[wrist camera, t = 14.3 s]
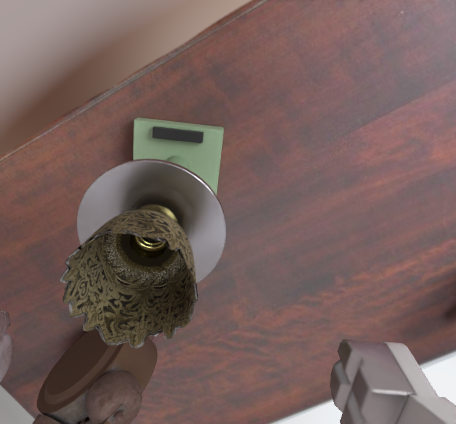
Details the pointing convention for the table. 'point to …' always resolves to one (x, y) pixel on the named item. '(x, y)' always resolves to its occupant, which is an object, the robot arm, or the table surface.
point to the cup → (133, 279)
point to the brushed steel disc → (158, 205)
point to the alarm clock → (96, 383)
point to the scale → (181, 146)
